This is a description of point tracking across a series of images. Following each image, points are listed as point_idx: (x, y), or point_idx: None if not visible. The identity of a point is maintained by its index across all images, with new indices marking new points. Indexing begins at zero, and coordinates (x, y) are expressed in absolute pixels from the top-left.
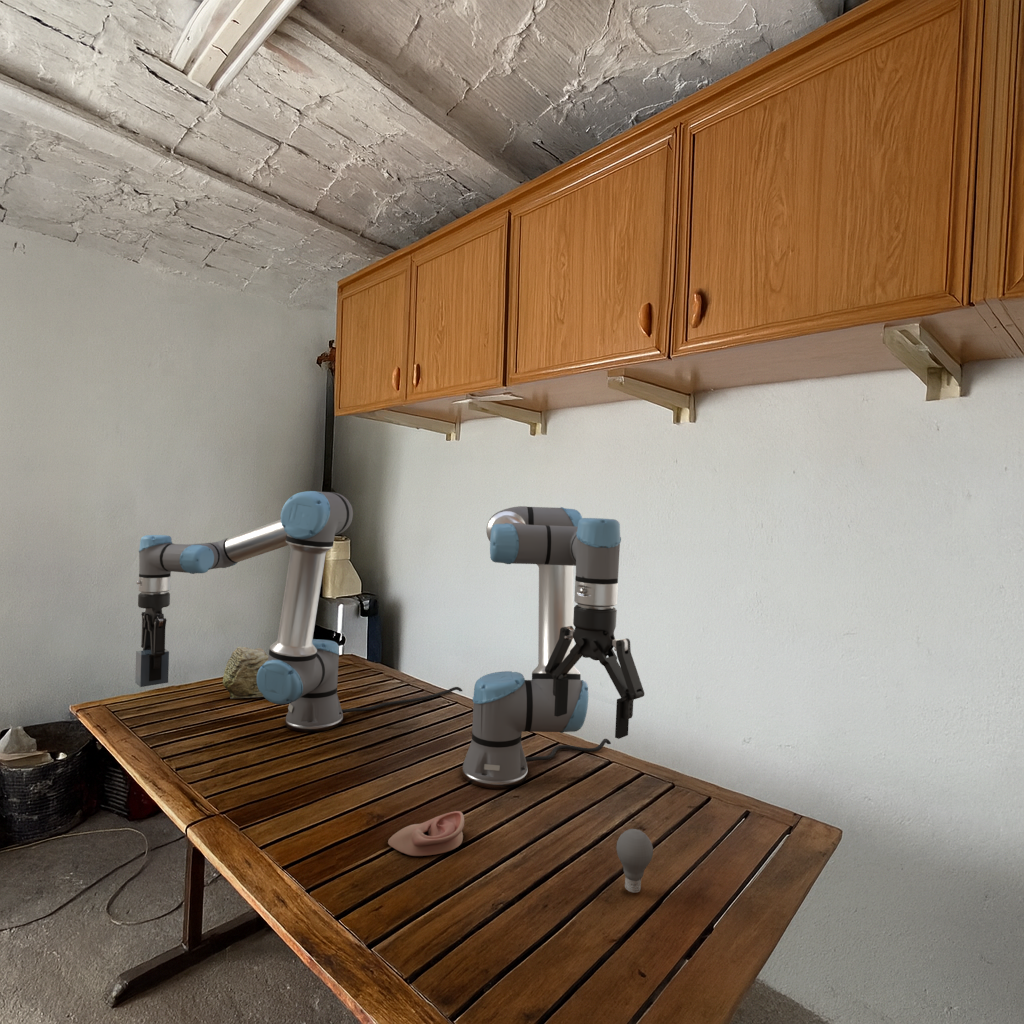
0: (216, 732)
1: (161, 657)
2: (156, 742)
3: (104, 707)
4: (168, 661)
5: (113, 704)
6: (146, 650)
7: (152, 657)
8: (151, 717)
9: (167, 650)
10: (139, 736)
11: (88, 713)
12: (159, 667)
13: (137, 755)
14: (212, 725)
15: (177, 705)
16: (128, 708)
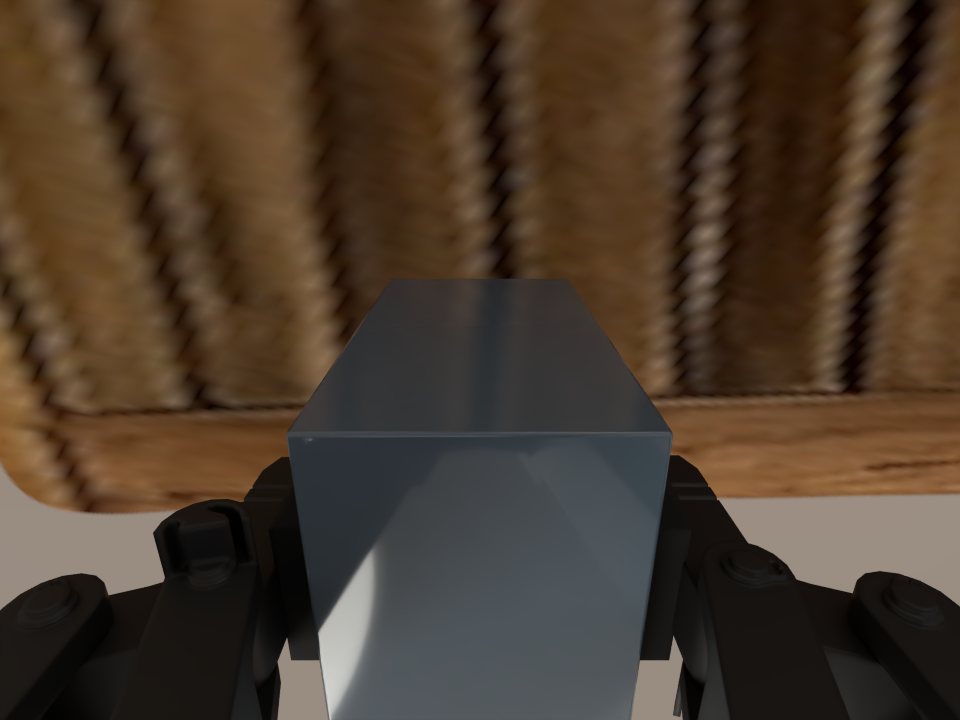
0: (929, 43)
1: (677, 509)
2: (805, 356)
3: (101, 423)
4: (622, 359)
5: (61, 378)
6: (359, 685)
7: (670, 630)
8: (408, 275)
9: (574, 435)
10: (666, 395)
11: (176, 495)
12: (684, 466)
13: (889, 454)
14: (794, 14)
15: (246, 71)
16: (174, 333)
